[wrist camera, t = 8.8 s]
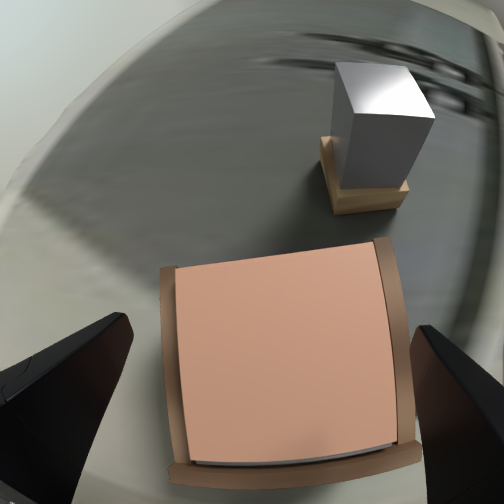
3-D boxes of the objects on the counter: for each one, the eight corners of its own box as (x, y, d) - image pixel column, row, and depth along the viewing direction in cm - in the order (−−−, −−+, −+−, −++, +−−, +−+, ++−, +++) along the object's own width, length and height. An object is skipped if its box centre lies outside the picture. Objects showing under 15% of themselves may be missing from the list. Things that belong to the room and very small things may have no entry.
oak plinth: (398, 207, 22) (409, 190, 20) (333, 215, 23) (337, 198, 20) (379, 152, 24) (385, 132, 21) (319, 157, 25) (321, 137, 22)
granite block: (400, 187, 20) (435, 118, 12) (339, 189, 20) (354, 113, 13) (385, 138, 21) (406, 67, 14) (330, 138, 22) (335, 62, 15)
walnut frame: (380, 423, 17) (421, 461, 9) (214, 440, 19) (170, 483, 11) (362, 271, 21) (395, 229, 13) (201, 292, 23) (151, 262, 15)
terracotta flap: (391, 442, 11) (396, 447, 10) (197, 460, 12) (191, 466, 11) (368, 248, 14) (372, 241, 13) (182, 273, 15) (175, 268, 14)
